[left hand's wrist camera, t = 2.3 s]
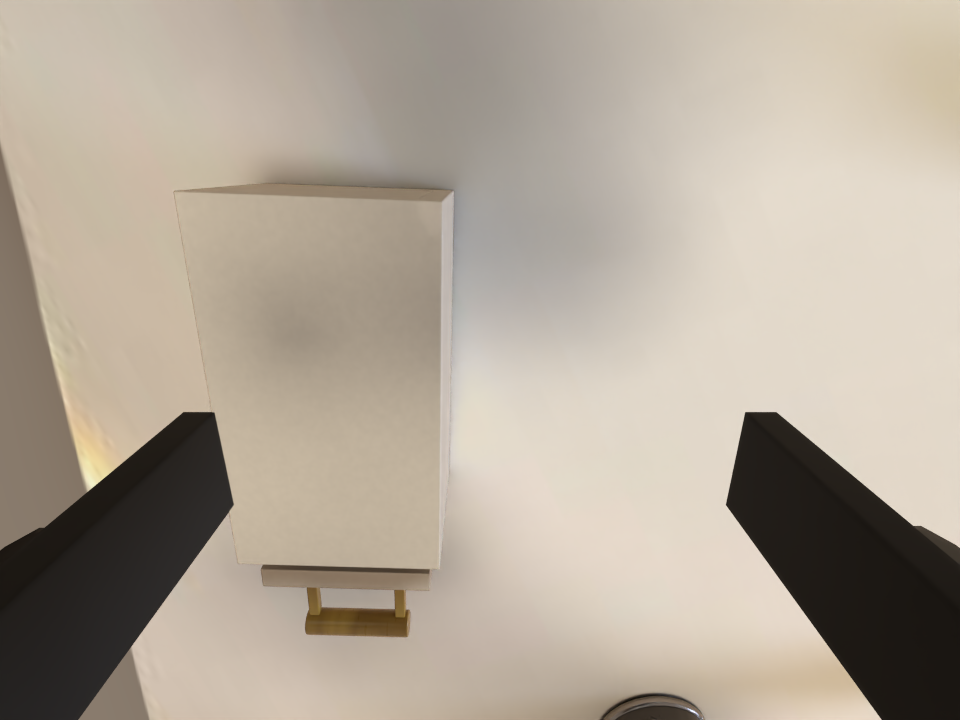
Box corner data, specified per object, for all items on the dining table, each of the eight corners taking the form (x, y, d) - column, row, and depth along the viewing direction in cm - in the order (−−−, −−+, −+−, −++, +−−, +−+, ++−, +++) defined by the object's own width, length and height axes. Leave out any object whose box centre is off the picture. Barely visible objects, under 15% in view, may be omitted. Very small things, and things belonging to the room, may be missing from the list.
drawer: (438, 574, 36) (429, 662, 30) (310, 570, 36) (273, 658, 30) (441, 263, 28) (429, 292, 22) (276, 257, 28) (216, 285, 22)
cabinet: (449, 471, 34) (439, 570, 26) (296, 466, 34) (237, 564, 26) (454, 190, 28) (442, 201, 20) (265, 183, 28) (172, 190, 19)
